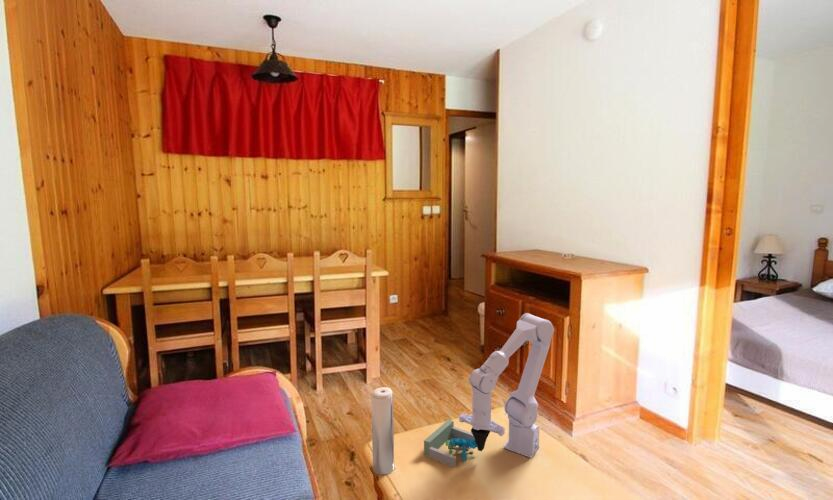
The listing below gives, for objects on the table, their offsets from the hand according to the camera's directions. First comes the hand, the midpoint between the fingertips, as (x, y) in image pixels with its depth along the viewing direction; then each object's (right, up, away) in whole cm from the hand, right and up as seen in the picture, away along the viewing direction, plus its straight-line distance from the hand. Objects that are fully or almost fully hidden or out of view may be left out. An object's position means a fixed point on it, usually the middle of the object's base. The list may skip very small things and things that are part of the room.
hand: (480, 449), depth 132 cm
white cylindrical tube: (-30, -5, -3) cm, 31 cm away
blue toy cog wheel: (-5, -4, +4) cm, 8 cm away
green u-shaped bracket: (-8, -3, +6) cm, 11 cm away
